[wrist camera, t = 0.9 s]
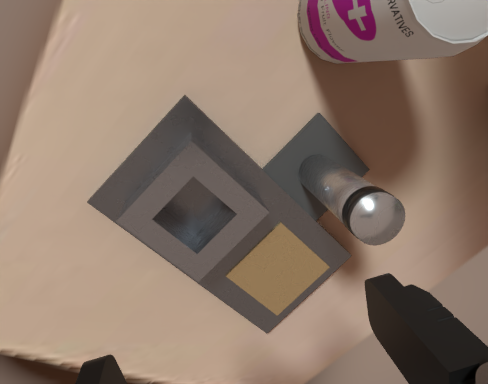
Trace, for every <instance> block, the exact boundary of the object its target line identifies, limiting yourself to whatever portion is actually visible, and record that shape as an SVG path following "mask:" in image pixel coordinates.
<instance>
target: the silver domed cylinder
mask: <svg viewBox="0 0 488 384" xmlns="http://www.w3.org/2000/svg"><path fill="white" fill-rule="evenodd" d="M298 175H299V180H300V182H301V183H302V184H303V185H304V186H305V187H306V188H307V189H308V190H309V191H310V192H311V193H312V194H313V195H314V196H315V197H316V198H317V199H318V200H319V201H320V202H321V203H322V204H323V205H324V206H325V207H326V208H327V209H328V210H329V211H331V212H332V213H333V214H334V215H335V216H336V217H337V218H338V219H339V220H340V221H341V222H342V223H343V224H344V225H345V227H346V228H347V229H348V230H349V231H350V232H351V233H352V234H353V235H354V236H355V237H357V238H358V239H360V240H361V241H362V242H364V243H366V244H368V245H381V244H384V243H386V242H388V241H390V240H392V239H393V238H394V237H395V236H396V235H397V234H398V233H399V232H400V230H401V228H402V226H403V224H404V221H405V210H404V207H403V205H402V203H401V202H400V201H399V200H398V199H396V198H395V197H394V196H393V195H391V194H390V193H388V192H386V191H385V190H383V189H381V188H379V187H376V186H375V185H373V184H371V183H370V182H368V181H366V180H365V179H363V178H361V177H360V176H358V175H356V174H355V173H353V172H351V171H350V170H348V169H346V168H345V167H343V166H341V165H340V164H338V163H336V162H335V161H333V160H331V159H330V158H328V157H326V156H324V155H321V154H314V155H311V156H309V157H307V158H306V159H305V160H304V161H303V162H302V163H301V165H300V168H299V172H298Z"/></svg>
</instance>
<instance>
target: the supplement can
mask: <svg viewBox="0 0 488 384" xmlns="http://www.w3.org/2000/svg"><path fill="white" fill-rule="evenodd" d="M297 17H298V23H299V28H300V33H301V35H302V37H303V39H304V41H305V43H306V44H307V46H308V48H309V49H310V50H311V51H312V52H313V53H315V54H316V55H317V56H318V57H319V58H321V59H323V60H326V61H329V62H332V63H335V64H337V63H355V62H373V61H390V60H408V59H426V58H438V57H449V56H455V55H457V54H459V53H461V52H463V51H465V50H467V49H469V48H471V47H473V46H475V45H477V44H478V43H479V42H480V41H482V40H483V39H484V38H485V37H486V36H488V0H299V6H298V14H297Z"/></svg>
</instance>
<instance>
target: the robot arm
mask: <svg viewBox="0 0 488 384" xmlns="http://www.w3.org/2000/svg"><path fill="white" fill-rule="evenodd" d="M365 291H366V300H367V308H368V316H369V321H370V325H371V327H372V330H373V332H374V334H375V336H376V337H377V339H378V340H379V342H380V343H381V345H382V346H383V348H384V349H385V350H386V352H387V353H388V355H389V356H390V357H391V359H392V360H393V362H394V363H395V365H396V366H397V367H398V369H399V370H400V372H401V373H402V374H403V376H404V377H405V379H406V380H407V382H408V383H409V384H488V347H487V346H486V345H485V344H484V343H483V342H482V341H481V340H480V339H479V338H478V337H477V336H476V335H474V334H473V333H472V332H471V331H470V330H469V329H468V328H467V327H466V326H465V325H464V324H463V323H462V322H460V321H459V320H458V319H457V318H454V316H453V314H452V313H451V312H450V311H448V310H447V309H446V308H445V307H443V306H442V304H441V303H440V302H439V301H438V300H437V299H436V298H434V297H433V296H432V295H431V294H430V293H429V292H427V291H425V290H423V289H421V288H418V287H416V286H414V285H408V286H405V287H404V286H403V285H402V284H401V283H400V282H399V281H398V280H397V279H396V278H395V277H394V276H393V275H391V274H390V273H387V274H384V275H380V276H377V277H373V278H370V279H367V280H365ZM75 384H127V382H126V380H125V378H124V376H123V374H122V372H121V370H120V368H119V366H118V364H117V362H116V360H115V358H114V357H113V356H112V355H107V356H103V357H100V358H96V359H93V360H90V361H86V362H84V363H83V365H82V367H81V370H80V372H79V375H78V378H77V381H76V383H75Z"/></svg>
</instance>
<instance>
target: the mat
mask: <svg viewBox="0 0 488 384" xmlns="http://www.w3.org/2000/svg"><path fill="white" fill-rule="evenodd" d="M314 154H321V155H324V156H326V157H328V158H330V159H331V160H333V161H335V162H336V163H338V164H340V165H341V166H343V167H345V168H346V169H348V170H350V171H351V172H353V173H355V174H356V175H358V176H360V177H362V176H363V175H364V174H365V173H366V172H368V171H369V168H368V167H367V166H366V165H365V164H364V163H363V162H362V161H361V159H360V158H359V157H358V156H357V155H356V154H355V153H354V151H353V150H352V149H351V148H350V147H349V146H348V145H347V143H346V142H345V141H344V140H343V139H342V138H341V137H340V135H339V134H338V133H337V132H336V131H335V130H334V129H333V128H332V126H331V125H330V124H329V123H328V122H327V121H326V120H325V118H324V117H323V116H322V115H321V114H320V113H317V114H316V115H315V116H314V117H313V118H312V119H311V120H310V121H309V122H308V123H307V124H306V125H305V126H304V127H303V128H302V129H301V130H300V131H299V132H298V133H297V135H296V136H295V137H294V138H293V139H292V140H291V141H290V142H289V143H288V144H287V145H286V146H285V147H284V148H283V149H282V150H281V151H280V152H279V153H278V154H277V155H276V156H275V157H274V158H273V159H272V160H271V161H270V162H269V163H268V164H267V165H266V166H265V167H264V168H263V169H262V170H263V171H264V172H265V173H266V174H267V175H268V176H269V177H270V178H272V179H273V180H274V181H275V182H276V183H277V184H278V185H279V186H280V187H281V188H282V189H283V190H284V191H285V192H286V193H287V194H288V195H289V196H290V197H291V198H292V199H293V200H294V201H295V202H296V203H298V204H299V205H300V206H301V207H302V208H303V209H304V210H305V211H306V212H307V213H308V214H309V215H310V216H311V217H312V218H313V219H314V220H315V221H316V220H317V219H318V218H319V217H320V216H321V215H323V214H324V213H325V212H326V211H327V210H328V209H327V208H326V207H325V206H324V205H323V204H322V203H321V202H320V201H319V200H318V199H317V198H316V197H315V196H314V195H313V194H312V193H311V192H310V191H309V190H308V189H307V188H306V187H305V186H304V185H303V184H302V183H301V182H300V180H299V175H298V172H299V168H300V165H301V163H302V162H303V161H304V160H305V159H306V158H307V157H309V156H311V155H314Z"/></svg>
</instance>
